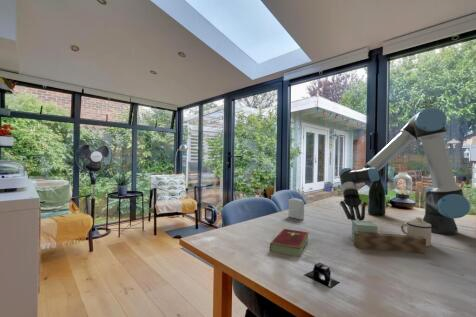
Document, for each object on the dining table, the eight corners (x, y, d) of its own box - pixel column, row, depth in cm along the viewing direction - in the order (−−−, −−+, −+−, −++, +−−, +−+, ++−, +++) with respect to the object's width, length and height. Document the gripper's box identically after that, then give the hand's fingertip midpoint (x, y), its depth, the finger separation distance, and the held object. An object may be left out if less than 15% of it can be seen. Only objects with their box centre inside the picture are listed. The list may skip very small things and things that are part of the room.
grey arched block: (287, 216, 147) (287, 197, 147) (291, 215, 150) (291, 197, 150) (300, 220, 139) (301, 200, 139) (304, 219, 142) (305, 199, 142)
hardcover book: (269, 252, 92) (269, 241, 92) (283, 236, 111) (283, 227, 111) (299, 258, 87) (300, 247, 87) (308, 240, 106) (308, 231, 106)
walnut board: (421, 250, 95) (421, 236, 95) (425, 253, 92) (426, 238, 92) (353, 244, 100) (354, 231, 100) (355, 247, 98) (356, 233, 98)
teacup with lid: (435, 245, 102) (436, 219, 102) (424, 248, 98) (425, 221, 98) (406, 236, 113) (406, 213, 113) (395, 239, 109) (395, 214, 109)
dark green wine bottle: (368, 212, 165) (369, 166, 165) (385, 214, 159) (386, 167, 159) (366, 214, 156) (367, 166, 156) (384, 217, 150) (386, 167, 150)
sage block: (370, 240, 106) (370, 221, 106) (377, 247, 99) (377, 226, 99) (351, 239, 108) (352, 220, 108) (356, 245, 100) (357, 224, 100)
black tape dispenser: (298, 275, 74) (298, 261, 74) (311, 269, 79) (311, 255, 79) (334, 293, 64) (334, 277, 64) (347, 285, 69) (347, 270, 69)
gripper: (361, 196, 126) (372, 237, 110) (336, 195, 129) (343, 234, 113) (365, 188, 121) (376, 229, 105) (338, 187, 124) (346, 227, 107)
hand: (359, 232), depth 109 cm, fingers closed
